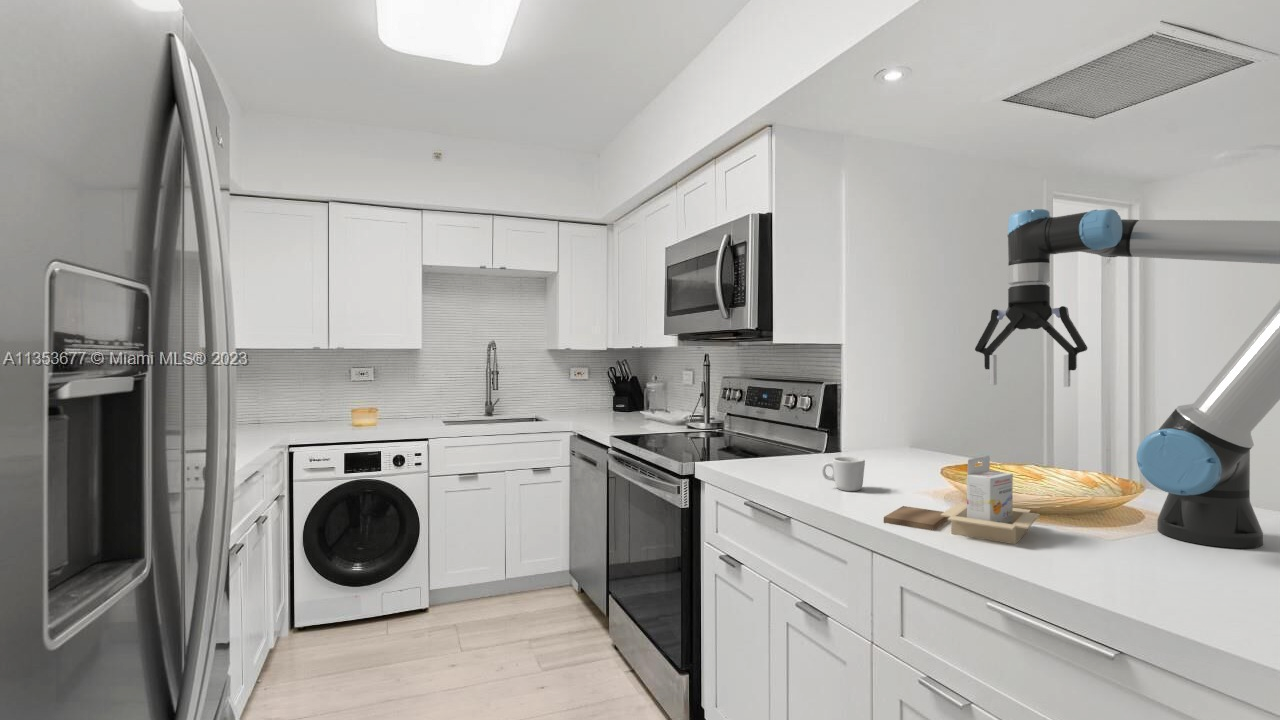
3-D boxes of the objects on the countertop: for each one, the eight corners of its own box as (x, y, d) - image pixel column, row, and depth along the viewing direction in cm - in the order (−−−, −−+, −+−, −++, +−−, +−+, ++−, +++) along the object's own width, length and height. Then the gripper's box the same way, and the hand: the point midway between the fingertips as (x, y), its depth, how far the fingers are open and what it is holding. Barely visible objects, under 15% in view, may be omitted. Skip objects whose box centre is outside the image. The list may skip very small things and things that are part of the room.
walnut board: (950, 518, 139) (950, 512, 139) (933, 530, 130) (933, 524, 130) (903, 511, 146) (903, 505, 146) (883, 522, 137) (883, 516, 137)
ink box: (991, 538, 124) (990, 462, 124) (966, 532, 129) (965, 459, 128) (1013, 531, 129) (1013, 457, 129) (988, 525, 133) (988, 454, 133)
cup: (820, 490, 168) (820, 460, 168) (823, 484, 175) (823, 455, 175) (864, 493, 164) (864, 462, 164) (865, 487, 171) (865, 457, 171)
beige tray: (1041, 528, 130) (1041, 511, 130) (1025, 549, 117) (1025, 530, 117) (960, 516, 140) (960, 500, 140) (936, 534, 127) (936, 517, 127)
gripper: (1103, 281, 130) (1103, 386, 131) (969, 290, 147) (969, 383, 147) (1098, 279, 125) (1098, 388, 125) (959, 288, 141) (960, 384, 142)
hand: (1028, 385), depth 136 cm, fingers open, 13 cm apart
